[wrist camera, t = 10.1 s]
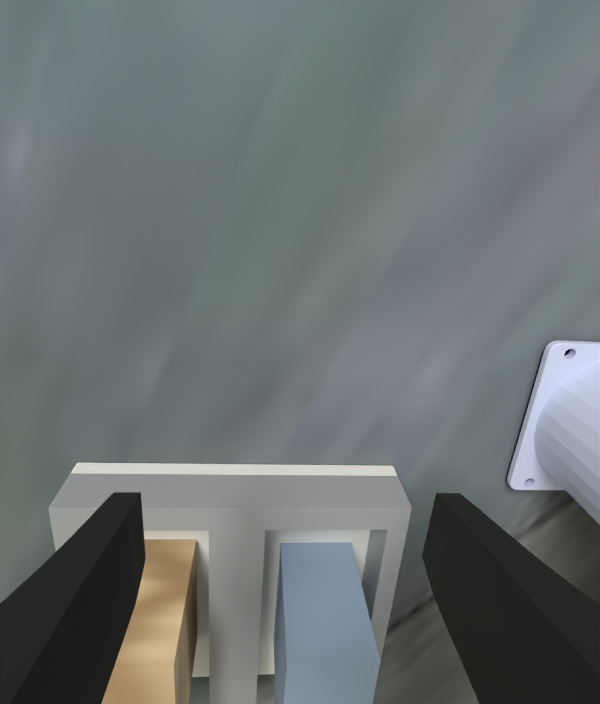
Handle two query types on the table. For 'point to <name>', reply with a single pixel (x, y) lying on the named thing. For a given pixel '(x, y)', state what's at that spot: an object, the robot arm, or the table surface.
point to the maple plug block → (160, 629)
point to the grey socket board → (251, 543)
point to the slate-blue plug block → (322, 628)
